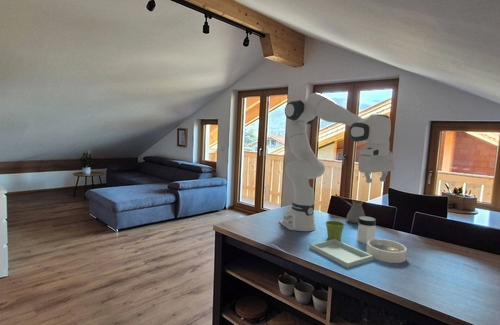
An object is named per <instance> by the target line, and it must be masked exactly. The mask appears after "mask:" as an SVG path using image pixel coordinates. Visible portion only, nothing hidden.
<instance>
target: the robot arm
mask: <svg viewBox="0 0 500 325" xmlns="http://www.w3.org/2000/svg"><path fill="white" fill-rule="evenodd" d="M284 116H285V117H286V118H287V119H288V121H287V123H286V135H287V139H288V145H289V149H290V153H292V154H293V155H294V156H295V157H296V158H297V159H296V160H293V161H290V162H288V163H287V164H286V166H285V175H286V176H287V178H288V179H289V180H290V181H291V184H292V186H293V193H294V194H293V202H292V203H290V205H291V208H289V209H288V210H287V211H285V212H284V214H283V218H282V219H280V220H279V221H278V223H279V224H281V225H282V226H284V227H285V228H287V229H288V230H290V231H297V232H298V231H299V232H312V231H315V230H316V223H315V212H314V211H315V203H314V202H315V190H314V188H313V187H312V186H311V185H310V180H313V179H317V178H319V177H322V176H323V175H324V173H325V170H326V169H325V164H324V163H323V162H322V160H320V159H318V157H317V156H316V155H315V153H314V151H313V149H312V148H311V145H310V141H309V136H308V134H307V129H306V126H307V125H311V124H312V123H313V122H314V121H316V120H318V119H320V120H322V121H325V122H329V123H334V124H335V123H336V124H343V125H346V126H348V127H349V128H348V136H349V138H350V141H353V142H355V143H367V146H365V147H364V148H361V149H360V150H359V152H358V153H359V157H358V165H357V166H358V171H359V173H364V176H365V179H366V180H365V182H366V183H368V184H371V183H372V182H373V181H372V180H373V179H372V178H371V175H372V173H381V176H380V177H379V182H386V177H387V175H388V173H389V172H393V171H394V169H395V158H394V154H393V152H392V151H391V150H390V136H391V133H392V132H391V130H392V124H391V123H392V122H391V121H392V120H391V117H390V116H389V115H386V114H382V113H371V114H370V116H368V117H366V118H365V119H364V118H362V117H360V116H359V115H357V114H356V113H353V112H352V111H350V110H348V109H347V108H345V107H343V106H342V105H341V104H339V103H338V102H336V101H334V100H333V99H332V98H330V97H328V96H326V95H324V94H321V93H318V92H313V93H311V94H309V95H308V96H307V98H306V100H304V101H303V100H302V99H300V100H299V99H298V100H292V101H289V102H288V103H287V104H286V105H285V108H284Z"/></svg>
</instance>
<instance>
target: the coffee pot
mask: <svg viewBox="0 0 500 325" xmlns="http://www.w3.org/2000/svg"><path fill="white" fill-rule="evenodd" d="M333 197H337V198H339V199H340V200H341V201H343V202H345V203H346V204H348V205H349V206H351V207H350V209H349V211H348V212H347V215H346V219H347V220H348V221H349V223H352V224H356V225H358V219H359V217H361V216H366V214H365V210H364V209H363V204H364V202H363V201H361V200H352V201H351V202H352V203H350V202H349V201H347V200H346V199H344V198H343V197H341V196H340V195H337V194H335V195H334V196H333Z"/></svg>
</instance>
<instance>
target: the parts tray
mask: <svg viewBox="0 0 500 325" xmlns="http://www.w3.org/2000/svg"><path fill="white" fill-rule="evenodd" d="M309 249H311V250H312V251H314V252H316V253H318V254H320V255H322V256H324V257H325V258H327V259H329V260H332V261H333V262H334V263H337V264H339V265H341V266H342V267H344V268H346V269H348V268H352V267H355V266H358V265H362V264H365V263H369V262H371V261H374V258H373V255H371V254H368V253H366V251H364V250H361V249H359V248H356V247H354V246H352V245H349V244H347V243H345V242H344V241H341V240H340V241H338V240H336V239H332V240H329V239H328V240H324V241H319V242H314V243H310V244H309Z"/></svg>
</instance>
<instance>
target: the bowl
mask: <svg viewBox="0 0 500 325" xmlns="http://www.w3.org/2000/svg"><path fill="white" fill-rule="evenodd" d="M375 242H380V243H383V244H385V250H380V249H378V248H375V247H374V245H375ZM389 247H393V248H397V249H398V250H399V252H390V251H388V248H389ZM365 249H366V250H365V252H366V253H368V254H371V255H373V259H375V260H378V261H380V262H384V263H391V264H392V263H393V264H401V263H403V262H406V261H407V249H408V248H407V247H406V246H405V245H404V244H402V243H400V242H397V241H395V240H391V239H385V238H375V239H371V240H368V241H367V244H366V247H365Z"/></svg>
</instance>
